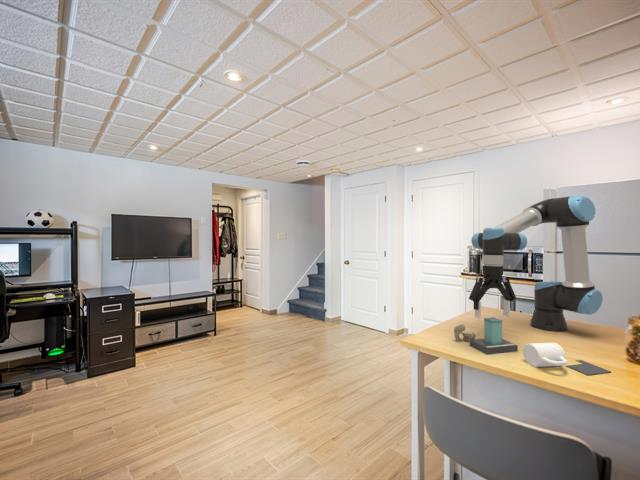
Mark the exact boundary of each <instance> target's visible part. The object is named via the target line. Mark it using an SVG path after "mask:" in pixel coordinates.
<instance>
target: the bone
mask: <svg viewBox="0 0 640 480" xmlns="http://www.w3.org/2000/svg"><path fill="white" fill-rule="evenodd" d="M465 329H466V326H465V324H462V323H461V324H458V325H456V326H455V327H454V328H453V333H454V335H453V336H454V338H455V342H457V343H459V342H468V343H470V340H472V339H476V333H474V332H471V333H469V331H466V330H465ZM460 334H461V335H462V338H461V337H460Z"/></svg>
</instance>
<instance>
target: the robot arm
mask: <svg viewBox="0 0 640 480" xmlns="http://www.w3.org/2000/svg"><path fill="white" fill-rule="evenodd" d="M595 215H596V207H595V203H594V202H593V201H592V199H590V198H589V197H588V196H585V195H571V196H564V197H563V196H562V197H555V198H547V199H544V200H541V201H539V202H536V203H534V204H532V205H529V206H527V207H526V208H525V209H523V211H522V212H521V213H519V214H517V215H516V216H514V217H511V218H509V219H508V220H506V221H504V222H502V223H500V224H499V225H497V226H496V225H495V226H494V227H485V228H484V229H483V231H482V232H477V233H474V234H473V235H472V236H471V241H470V242H471V245H472V246H473V248H475V249H478V250H482V264H483V265H482V266H481V267H482V275H483V277H479V276H476V278H475V283H474V286H473V288H472V290H471V292H470V294H469V297H468V300H469V301H473V309H474V318H477V319H482V302H481V300H482V298H483V297H484V296H485V294H486V293H487V292H488V290H490V289H497V290H498V291H499V293H500V294H501V295H502V297H503V298H504V299H502V300H503V305H502V306H503V307H502V309H503V310H502V311H503V313H502V316H503V317H507V318H510V317H511V308H512V302H513V301H514V300H516V299H517V296H516V294H515V291H514V289H513V287H512V285H511V282H510V277H509V276H504V266H503V265H504V255H505V253H504V251H516V252H517V251H522V250H524V249H525V248H526V247H527V245H528V238H527V237H526V235H525V234H524V233H522V232H523V231H525V230H527V229H529V228H530V227H536V226H539V225H541V224H548V223H551V224H553V223H554V224H555V223H556V228H557V229H559V230H560V233H561V243H562V255H563V266H564V278H565V280H564V281H538V282H535V284H534V289H533V291H534V311H533V313H532V316H531V319H530V324H529V325H530V326H531V327H534V328H535V329H540V330H544V331H548V332H549V331H552V332H567V331H568V330H569V329H568V326H569V325H568V323H567V321H566V318H565V315H564V311H569V312H572V313H577V314H580V315H581V314H582V315H593V314H596V313H597V312H598V311H599V310H600V308H601V307H602V304H603V294H602V292H601V291H600V290H598V289H595V288H596V287H595V284H594V283H593V282H592V281H591V280H590V270H589V269H590V267H589V258H588V257H589V255H588V247H587V246H588V245H587V232H586V228H587V227H588V226H590V222H591V221H593V220H594V218H595Z"/></svg>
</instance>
